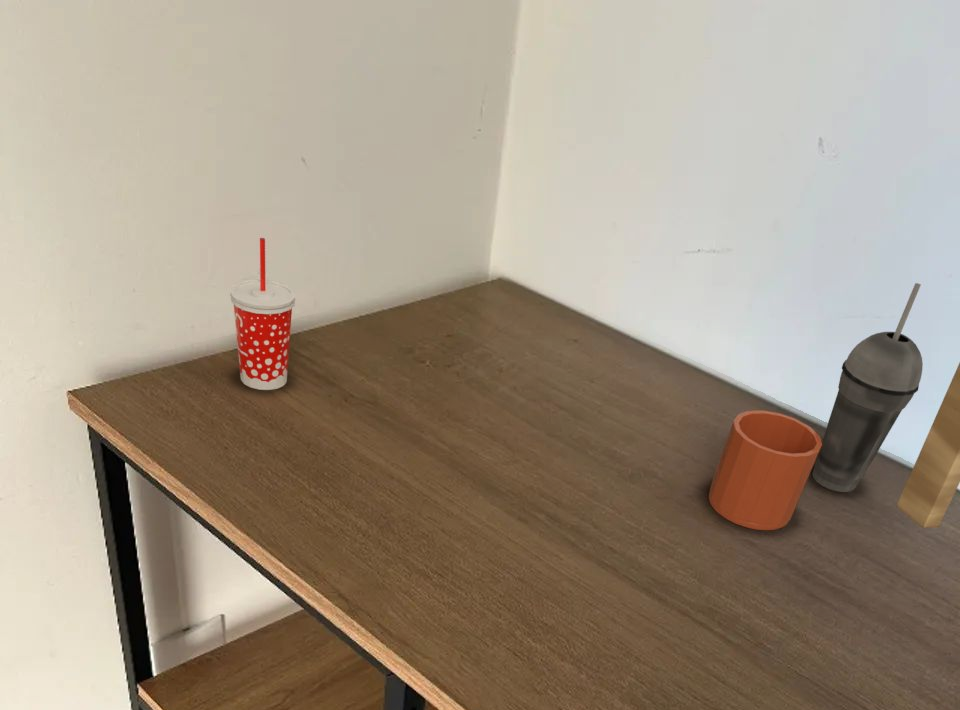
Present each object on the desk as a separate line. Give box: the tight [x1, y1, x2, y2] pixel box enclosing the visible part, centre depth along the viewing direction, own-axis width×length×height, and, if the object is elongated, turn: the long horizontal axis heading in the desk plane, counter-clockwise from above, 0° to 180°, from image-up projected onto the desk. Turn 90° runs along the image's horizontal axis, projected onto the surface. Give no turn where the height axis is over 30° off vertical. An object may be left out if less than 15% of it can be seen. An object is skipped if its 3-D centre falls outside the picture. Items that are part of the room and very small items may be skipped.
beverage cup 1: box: [229, 237, 296, 391], centre depth 93 cm, size 6×6×14 cm
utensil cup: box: [708, 410, 822, 531], centre depth 90 cm, size 8×8×8 cm
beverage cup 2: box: [811, 282, 924, 493], centre depth 92 cm, size 7×7×20 cm
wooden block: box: [896, 362, 960, 529], centre depth 75 cm, size 2×4×14 cm, turn 19°
